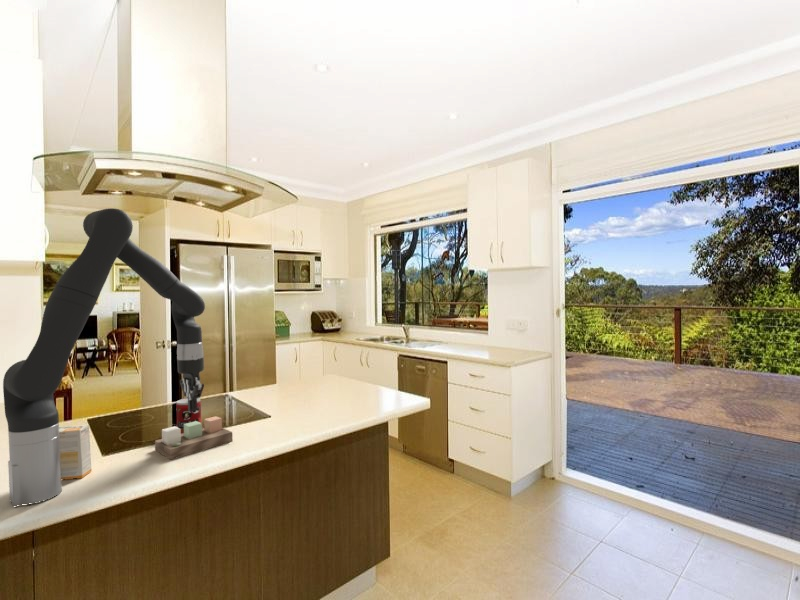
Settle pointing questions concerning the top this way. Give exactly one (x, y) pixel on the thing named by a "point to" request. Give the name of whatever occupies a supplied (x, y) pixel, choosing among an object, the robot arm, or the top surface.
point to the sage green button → (192, 429)
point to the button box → (193, 443)
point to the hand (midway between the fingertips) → (192, 410)
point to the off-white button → (171, 435)
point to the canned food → (187, 413)
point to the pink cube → (212, 424)
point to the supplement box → (75, 451)
